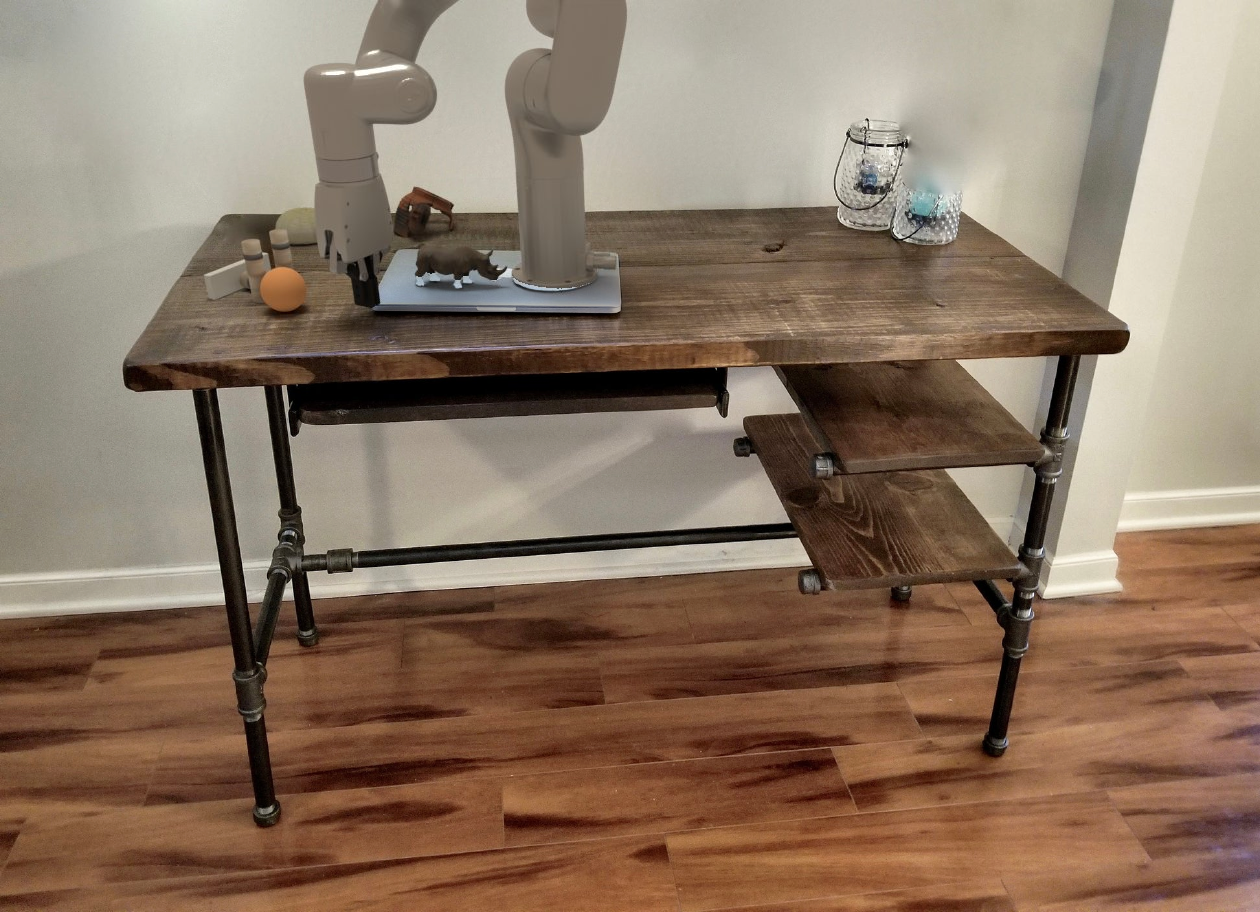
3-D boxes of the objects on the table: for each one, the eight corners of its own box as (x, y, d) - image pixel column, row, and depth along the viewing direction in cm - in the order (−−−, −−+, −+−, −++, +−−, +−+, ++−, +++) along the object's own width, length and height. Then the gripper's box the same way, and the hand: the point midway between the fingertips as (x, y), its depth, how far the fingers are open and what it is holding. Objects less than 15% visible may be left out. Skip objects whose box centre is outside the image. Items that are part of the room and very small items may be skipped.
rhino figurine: (504, 293, 148) (501, 252, 145) (412, 288, 150) (407, 248, 147) (511, 283, 151) (509, 243, 148) (421, 278, 153) (417, 239, 150)
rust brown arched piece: (391, 227, 177) (409, 182, 176) (443, 250, 179) (462, 206, 178) (384, 230, 166) (403, 182, 164) (439, 255, 168) (459, 207, 166)
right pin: (300, 286, 151) (290, 229, 147) (293, 292, 149) (283, 234, 145) (283, 285, 151) (273, 228, 147) (276, 291, 149) (265, 234, 145)
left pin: (274, 297, 147) (262, 239, 143) (267, 303, 145) (255, 244, 141) (257, 296, 147) (245, 238, 143) (249, 303, 145) (237, 244, 141)
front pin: (297, 282, 147) (254, 272, 151) (284, 279, 145) (241, 269, 149) (294, 299, 148) (251, 289, 151) (281, 296, 145) (238, 286, 149)
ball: (273, 271, 145) (314, 271, 144) (272, 314, 145) (313, 314, 144) (252, 263, 139) (295, 263, 138) (251, 308, 139) (293, 308, 138)
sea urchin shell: (323, 237, 165) (284, 201, 163) (297, 269, 169) (259, 234, 167) (348, 220, 173) (311, 185, 171) (322, 251, 176) (286, 217, 175)
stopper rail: (272, 276, 155) (268, 253, 153) (214, 300, 146) (209, 276, 145) (266, 274, 155) (262, 252, 154) (208, 298, 147) (203, 275, 145)
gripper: (364, 152, 138) (382, 283, 147) (283, 178, 127) (307, 318, 136) (409, 158, 135) (424, 291, 144) (329, 186, 124) (351, 328, 133)
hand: (367, 304), depth 140 cm, fingers closed
